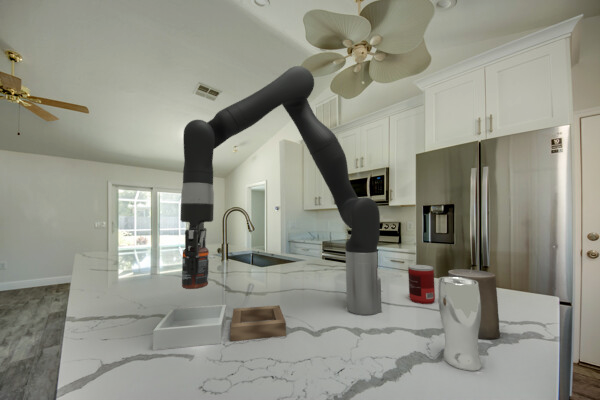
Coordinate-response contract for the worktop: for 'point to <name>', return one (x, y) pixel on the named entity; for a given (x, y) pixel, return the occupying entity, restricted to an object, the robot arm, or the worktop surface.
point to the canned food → (421, 284)
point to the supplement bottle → (202, 276)
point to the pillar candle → (484, 300)
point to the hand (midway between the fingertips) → (195, 271)
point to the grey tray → (190, 327)
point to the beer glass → (460, 321)
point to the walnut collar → (257, 323)
